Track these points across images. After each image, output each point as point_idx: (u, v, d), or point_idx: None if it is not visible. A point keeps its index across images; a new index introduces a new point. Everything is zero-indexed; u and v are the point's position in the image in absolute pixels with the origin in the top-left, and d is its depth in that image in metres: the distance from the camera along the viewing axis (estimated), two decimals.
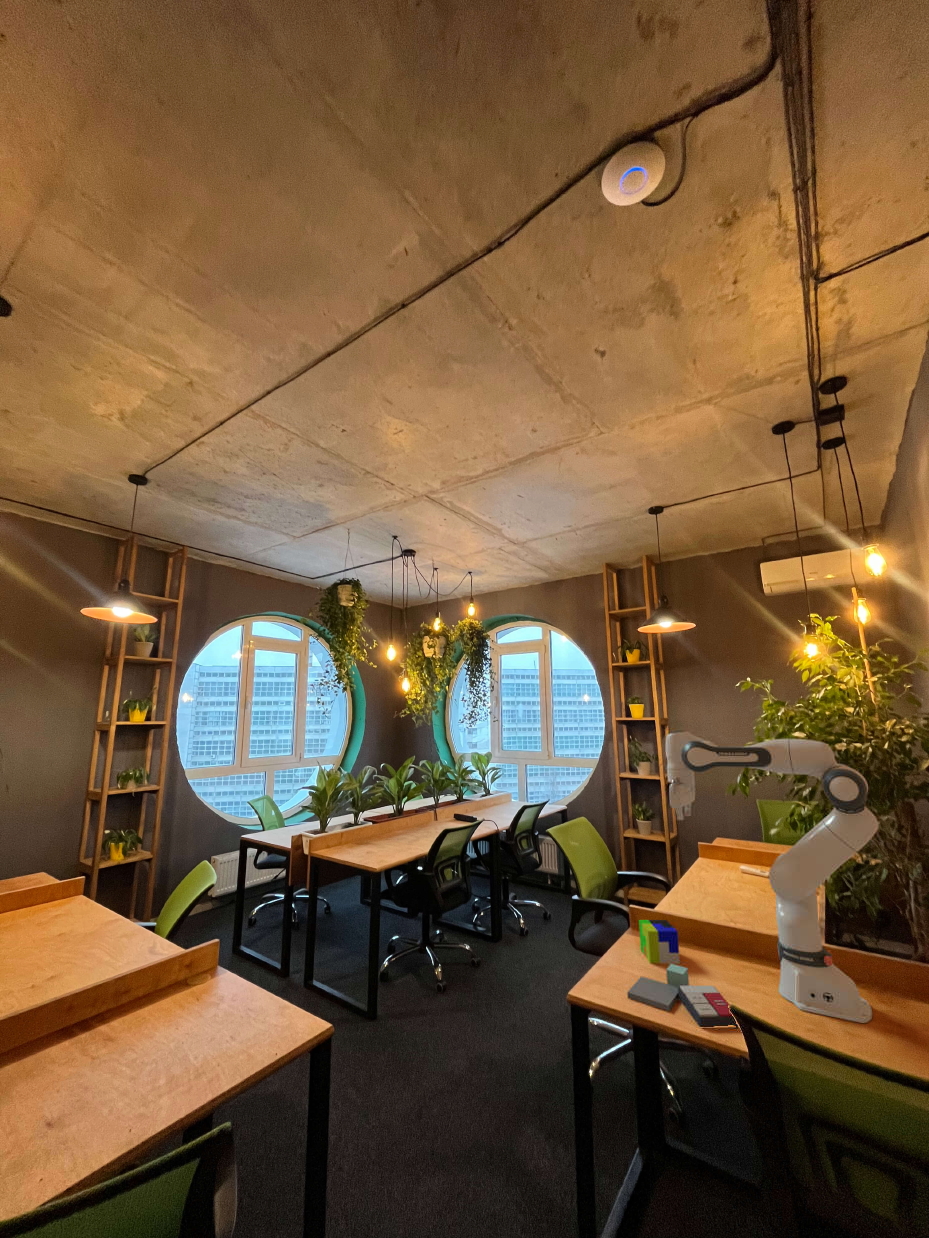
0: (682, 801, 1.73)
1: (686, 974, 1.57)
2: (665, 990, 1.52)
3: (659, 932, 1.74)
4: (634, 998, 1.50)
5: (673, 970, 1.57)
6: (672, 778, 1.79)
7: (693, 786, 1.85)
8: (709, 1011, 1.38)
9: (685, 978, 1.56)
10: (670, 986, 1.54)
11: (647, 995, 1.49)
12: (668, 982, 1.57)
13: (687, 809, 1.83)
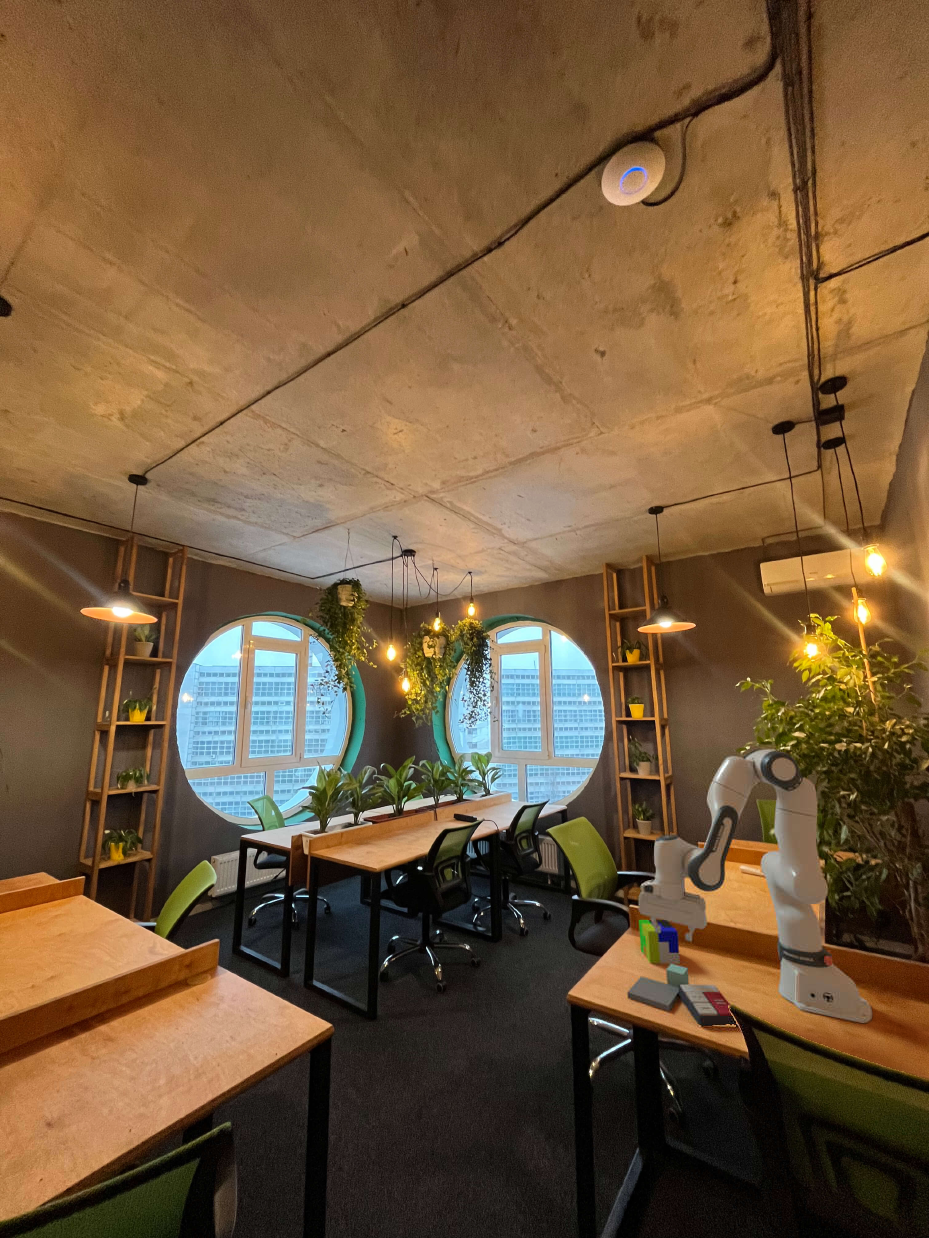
0: None
1: (686, 974, 1.57)
2: (665, 990, 1.52)
3: None
4: (634, 998, 1.50)
5: (673, 970, 1.57)
6: (681, 894, 1.59)
7: None
8: (709, 1010, 1.39)
9: (685, 978, 1.56)
10: (670, 986, 1.54)
11: (647, 995, 1.49)
12: (668, 982, 1.57)
13: (656, 924, 1.64)
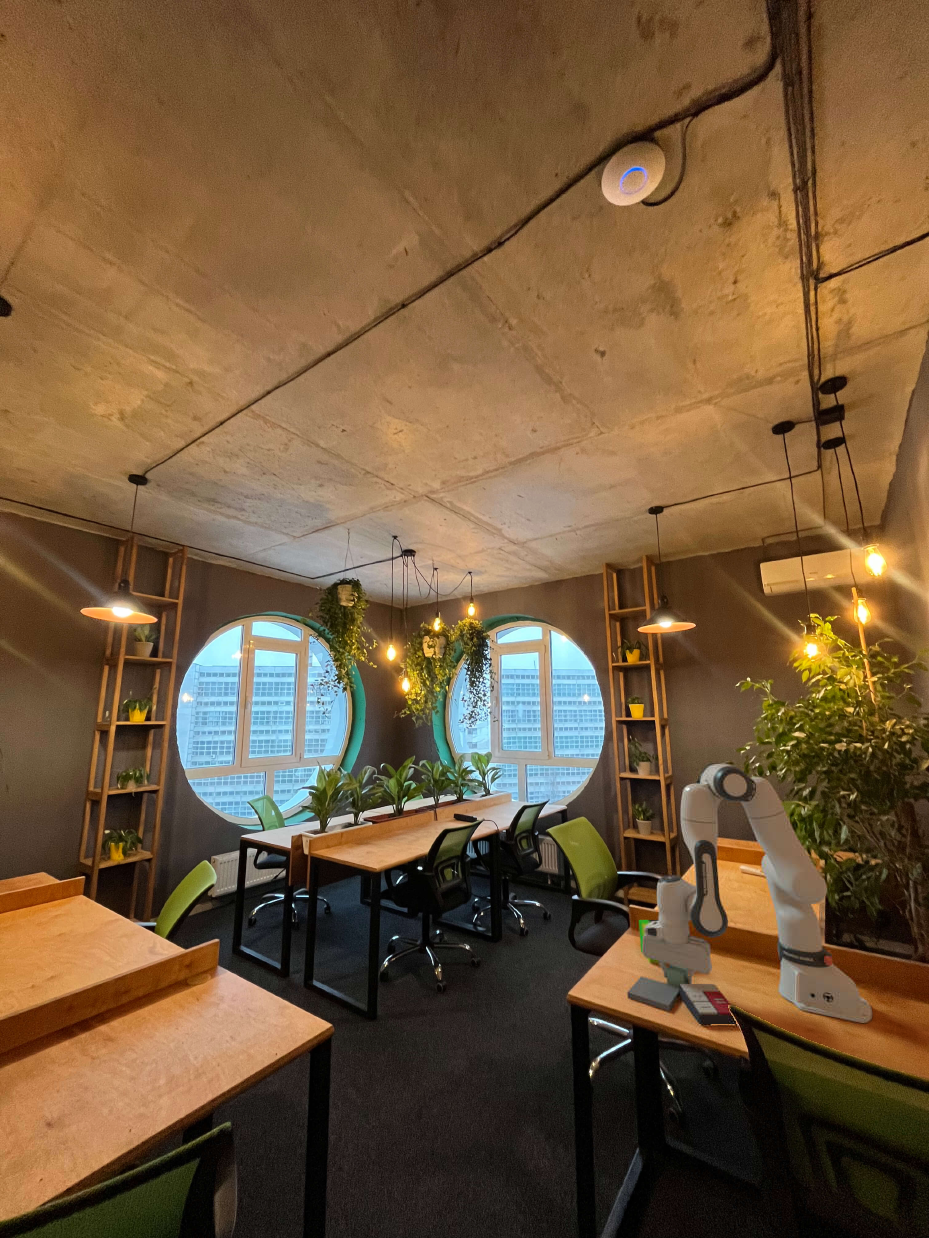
0: None
1: (686, 974, 1.57)
2: (665, 990, 1.52)
3: None
4: (634, 998, 1.50)
5: (673, 970, 1.57)
6: (685, 937, 1.56)
7: None
8: (709, 1009, 1.39)
9: None
10: (670, 986, 1.54)
11: (647, 995, 1.49)
12: (668, 982, 1.57)
13: (665, 969, 1.60)
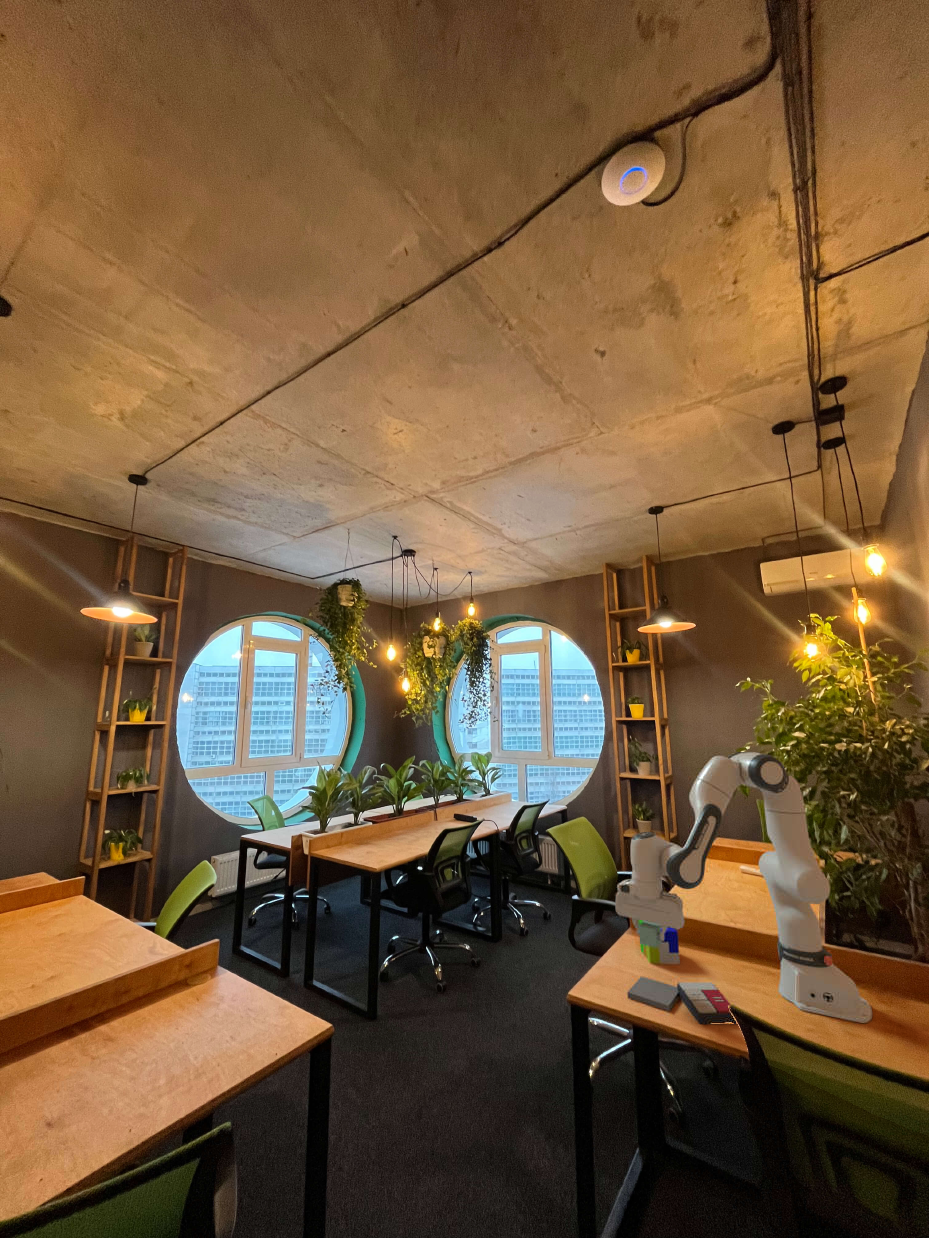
0: None
1: (659, 930, 1.55)
2: (665, 990, 1.52)
3: None
4: (634, 998, 1.50)
5: (645, 926, 1.55)
6: (658, 893, 1.54)
7: None
8: (708, 1007, 1.40)
9: None
10: (670, 986, 1.54)
11: (647, 995, 1.49)
12: (640, 938, 1.54)
13: (638, 926, 1.58)
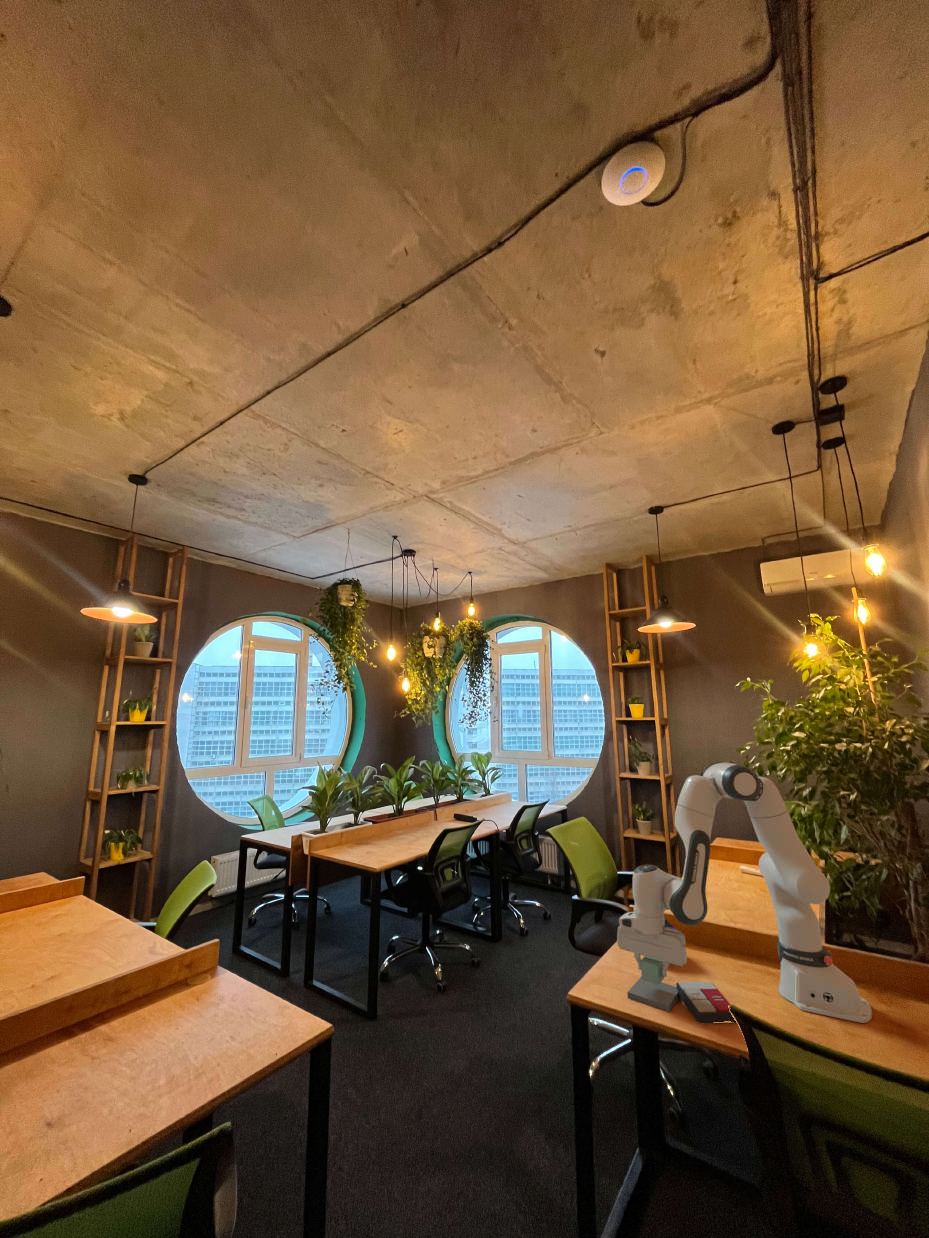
0: None
1: (661, 965, 1.53)
2: (665, 990, 1.52)
3: None
4: (634, 998, 1.50)
5: (648, 961, 1.53)
6: (660, 928, 1.52)
7: None
8: (707, 1007, 1.40)
9: None
10: (670, 986, 1.54)
11: (647, 995, 1.49)
12: (642, 974, 1.53)
13: (640, 961, 1.56)
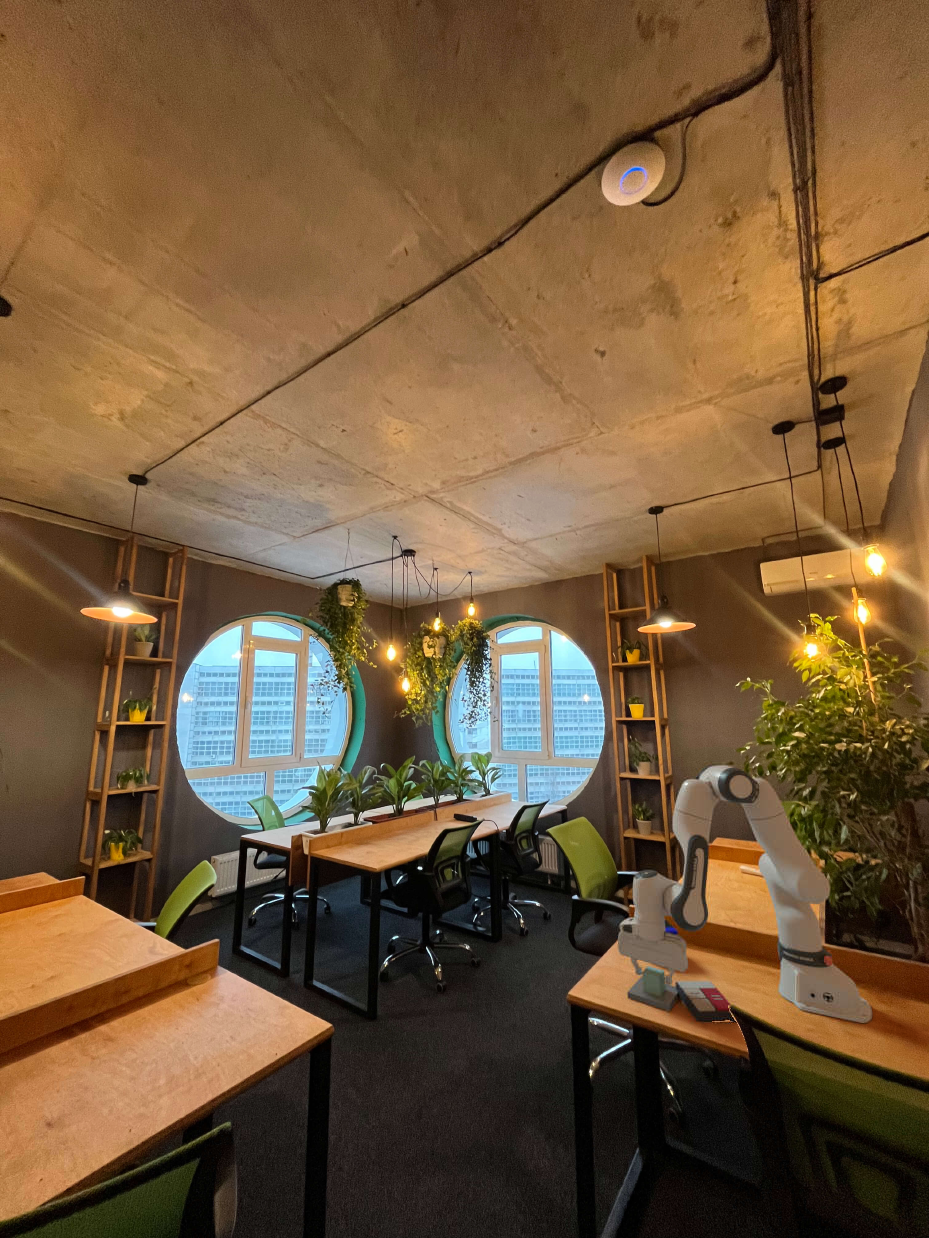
0: None
1: (662, 977, 1.52)
2: (665, 990, 1.52)
3: None
4: (634, 998, 1.50)
5: (649, 973, 1.52)
6: (661, 934, 1.52)
7: None
8: (707, 1006, 1.41)
9: (661, 981, 1.51)
10: (670, 986, 1.54)
11: (647, 995, 1.49)
12: (644, 985, 1.52)
13: (637, 966, 1.56)
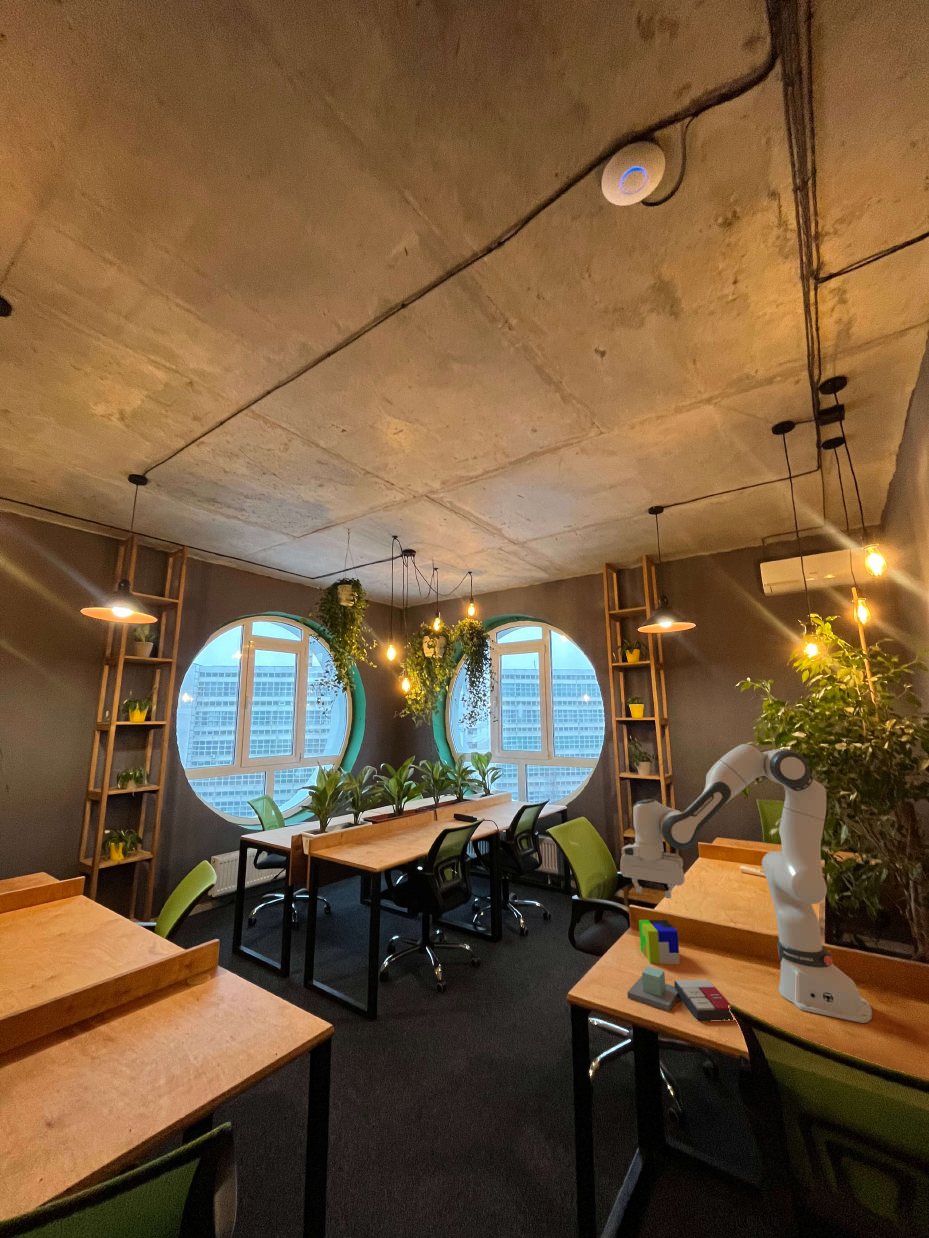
0: None
1: (662, 977, 1.52)
2: (665, 990, 1.52)
3: (659, 932, 1.74)
4: (634, 998, 1.50)
5: (649, 973, 1.52)
6: (660, 853, 1.66)
7: None
8: (706, 1005, 1.41)
9: (661, 981, 1.51)
10: (670, 986, 1.54)
11: (647, 995, 1.49)
12: (644, 985, 1.52)
13: (637, 885, 1.70)
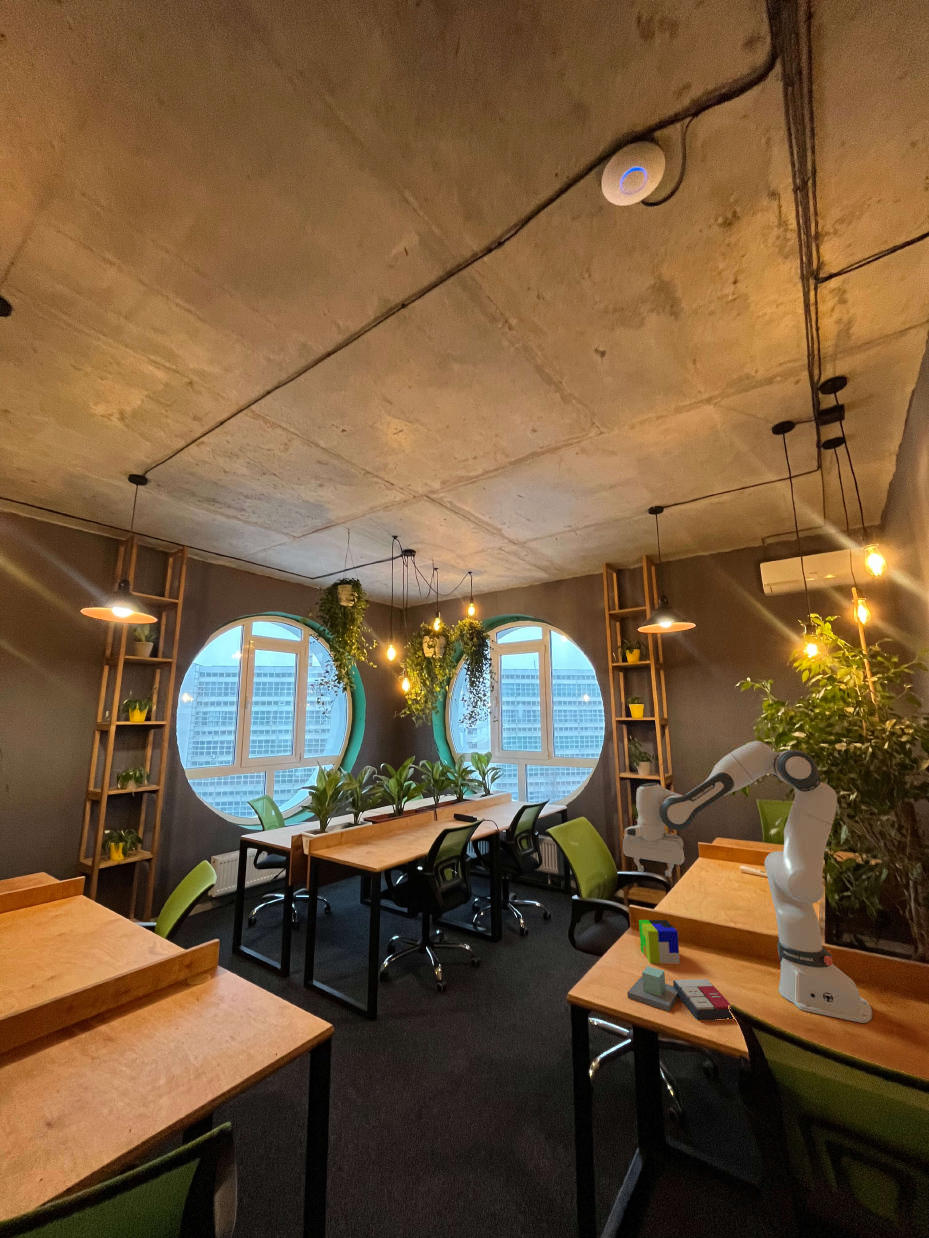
0: None
1: (662, 977, 1.52)
2: (665, 990, 1.52)
3: (659, 932, 1.74)
4: (634, 998, 1.50)
5: (649, 973, 1.52)
6: (661, 834, 1.74)
7: None
8: (705, 1004, 1.42)
9: (661, 981, 1.51)
10: (670, 986, 1.54)
11: (647, 995, 1.49)
12: (644, 985, 1.52)
13: (639, 864, 1.78)
